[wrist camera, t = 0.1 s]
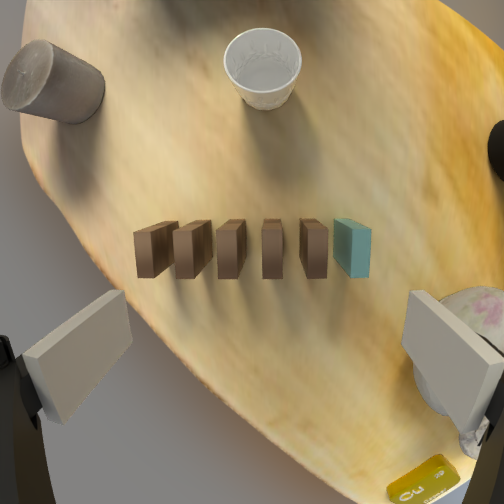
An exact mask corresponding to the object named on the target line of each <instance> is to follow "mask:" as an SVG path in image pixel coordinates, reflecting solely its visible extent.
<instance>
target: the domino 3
mask: <svg viewBox="0 0 504 504" xmlns="http://www.w3.org/2000/svg"><path fill="white" fill-rule="evenodd" d="M216 242H217V264H218V279H238V277H239V275H240V272H241V269H242V267H243V264H244V262H245V259H246V229H245V219H230V220H229V221H227V222H226V223H225V224H223V225H222V226H221V227H220V228H218V229H217V230H216Z"/></svg>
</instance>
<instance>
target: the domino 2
mask: <svg viewBox="0 0 504 504" xmlns="http://www.w3.org/2000/svg"><path fill="white" fill-rule="evenodd" d="M173 245H174V259H175V271H176V279H195V278H196V276H197V275H198V274H199V273H200V272H201V270H202V269H203V268H204V267H205V266H206V265H207V263H208V262H209V261H210V260H211V259H212V257H213V256H212V234H211V220H196V221H194V222H191V223H189V224H187V225H185V226H183V227H180V228H178V229H176V230H174V231H173Z"/></svg>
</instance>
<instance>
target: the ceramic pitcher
mask: <svg viewBox="0 0 504 504" xmlns="http://www.w3.org/2000/svg"><path fill="white" fill-rule="evenodd" d="M439 303H441V304H442V305H443V306H444V307H446V308H447V309H448V310H449V311H450V312H452V313H453V314H454V315H455V316H456V317H458V318H459V319H460V320H461V321H462V322H464V323H465V324H466V325H467V326H468V327H469V328H471V329H472V330H473V331H474V332H476V333H478V334H480V335H482V336H484V337H486V338H487V339H488V340H489V341H490V342H491V343H492V345H495V346H496V347H497V348H498V350H501V351H502V352H503V353H504V291H503V290H500V289H497V288H494V287H486V286H477V287H471V288H467V289H464V290H461V291H459V292H457V293H455V294H452V295H450V296H448V297H446V298H444V299H442V300H441V301H439ZM413 373H414V379H415V382H416V385H417V388H418V390H419V392H420V394H421V396H422V397H423V399H424V400H425V402H426V403H427V404H428V405H429V406H430V407H431V408H432V409H433V410H434V411H436V412H437V413H439V414H441V415H442V416H449V415H448V413H447V412H446V410H445V409H444V407H443V406H442V404H441V402H440V401H439V399H438V398H437V396H436V395H435V393H434V392H433V390H432V389H431V387H430V386H429V384H428V383H427V381H426V380H425V378H424V377H423V375H422V374H421V372H420V371H419V369H418V368H417V366H416V365H415V364H414V362H413ZM488 424H489V420H488V419H487V418H486V416H484V418H483V420H482V422H481V424H480V426H479V428H478V429H477V430H474V431H471V432H468V433H465V434H460V433H459V442H460V447H461V449H462V451H463V453H464V454H465V455H467V456H469V457H471V458H473V459H475V460H477V459H478V456H479V452H480V449H481V445H482V444H481V445H480V447H479V446H477V445H478V443H479V441H480V440H481V438H482V436H483V434H484V432H485V430H486V428H487V426H488Z"/></svg>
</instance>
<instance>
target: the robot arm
mask: <svg viewBox="0 0 504 504" xmlns="http://www.w3.org/2000/svg"><path fill="white" fill-rule="evenodd" d="M132 342H133V340H132V335H131V330H130V324H129V318H128V312H127V306H126V299H125V292H124V290H110V291H108V292H107V293H105V294H104V295H102V296H101V297H99V298H98V299H96V300H95V301H94V302H92V303H91V304H89V305H88V306H87V307H85V308H84V309H82V310H81V311H80V312H78V313H77V314H75V315H74V316H73V317H71V318H70V319H69V320H67V321H66V322H64V323H63V324H62V325H60V326H59V327H57V328H56V329H55V330H53V331H52V332H51V333H49V334H48V335H46V336H45V337H44V338H42V339H41V340H40V341H38V342H37V343H36V344H34V345H33V346H32V347H30V348H29V349H28V350H26V351H25V352H24V353H23V354H21V355H20V356H19V357H17V358H16V359H15V356H14V354H13V350H12V347H11V344H10V341H9V338H8V337H7V336H4V335H0V504H56V502H55V498H54V494H53V490H52V486H51V481H50V476H49V471H48V466H47V461H46V455H45V449H44V443H43V436H42V428H41V420H40V418H39V416H38V413H37V412H38V411H39V410H40V409H41V408H43V410H44V412H45V414H46V416H47V419H48V420H50V421H53V422H55V423H58V424H61V425H64V424H65V423H66V422H67V421H68V419H69V418H70V417H71V416H72V415H73V413H74V412H75V411H76V409H77V408H78V407H79V406H80V405H81V404H82V402H83V401H84V400H85V399H86V397H87V396H88V395H89V394H90V392H91V391H92V390H93V389H94V388H95V386H96V385H97V384H98V383H99V381H100V380H101V379H102V378H103V377H104V376H105V374H106V373H107V372H108V371H109V370H110V369H111V367H112V366H113V365H114V364H115V363H116V361H117V360H118V359H119V358H120V357H121V356H122V354H123V353H124V352H125V351H126V350H127V348H128V347H129V346H130V345H131V344H132ZM401 345H402V346H403V348H404V349H405V351H406V352H407V353H408V355H409V356H410V358H411V359H412V361H413V362H414V364H415V365H416V366H417V368H418V369H419V371H420V372H421V374H422V375H423V377H424V378H425V380H426V381H427V383H428V384H429V386H430V387H431V389H432V390H433V392H434V393H435V395H436V396H437V398H438V399H439V401H440V402H441V404H442V406H443V407H444V409H445V410H446V412H447V413H448V415H449V417H450V418H451V420H452V421H453V423H454V425H455V426H456V428H457V429H458V431H459V433H460V434H465V433H468V432H471V431H474V430H477V429H478V428H479V426H480V424H481V422H482V420H483V418H484V416H486V418H487V419H488V420H489V424H488V426H487V428H486V430H485V432H484V434H483V436H482V438H481V440H480V441H479V443H478V445H477V446H479V447H480V445H481V444H482V445H481V449H480V452H479V456H478V459H477V462H476V466H475V469H474V472H473V475H472V478H471V480H470V483H469V486H468V489H467V492H466V494H465V497H464V499H463V502H462V504H504V353H503V352H502V351H501V350H498V348H497V347H496V346H495V345H492V343H491V342H490V341H489V340H488V339H487V338H486V337H484V336H482V335H480V334H478V333H476V332H474V331H473V330H472V329H471V328H469V327H468V326H467V325H466V324H465V323H464V322H462V321H461V320H460V319H459V318H458V317H456V316H455V315H454V314H453V313H452V312H450V311H449V310H448V309H447V308H446V307H444V306H443V305H442V304H441V303H439V302H438V301H437V300H436V299H435V298H433V297H432V296H431V295H430V294H428V293H427V292H426V291H425V290H412V291H410V292H409V299H408V306H407V313H406V319H405V325H404V331H403V336H402V342H401Z"/></svg>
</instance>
